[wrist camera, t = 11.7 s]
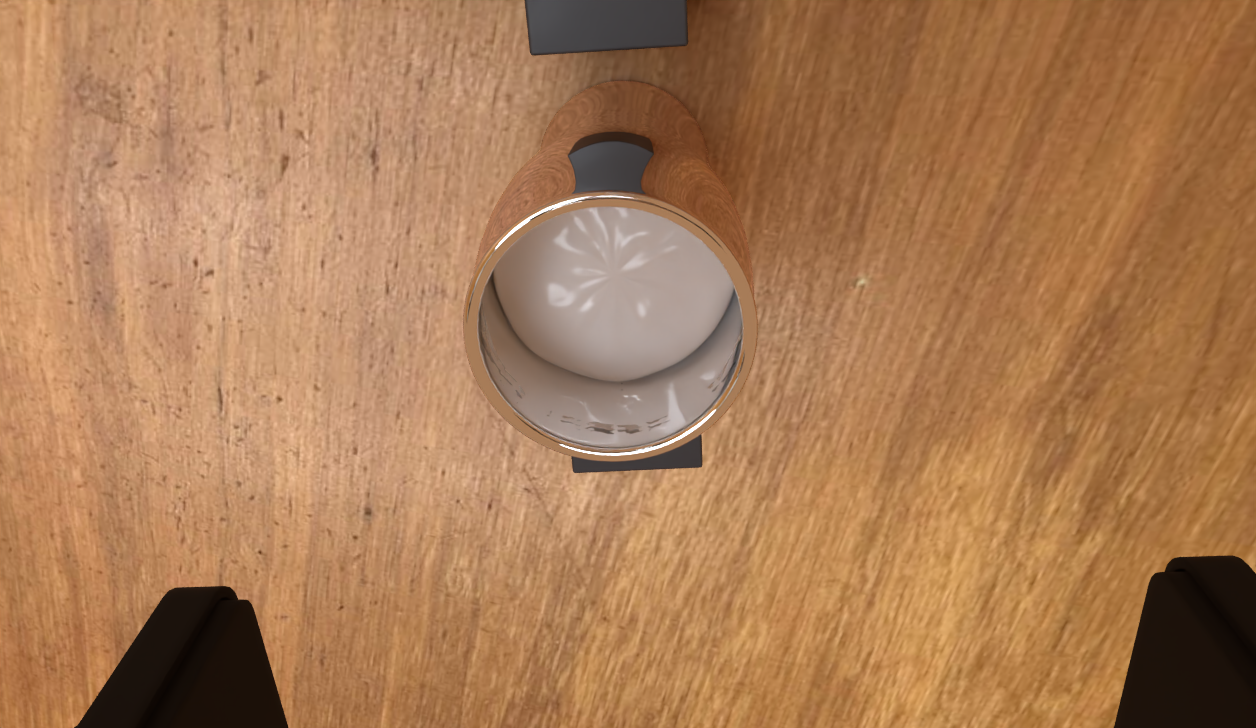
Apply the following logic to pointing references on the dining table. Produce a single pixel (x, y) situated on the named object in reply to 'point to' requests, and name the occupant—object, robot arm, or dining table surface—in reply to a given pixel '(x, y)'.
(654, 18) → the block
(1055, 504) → the dining table surface
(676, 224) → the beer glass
